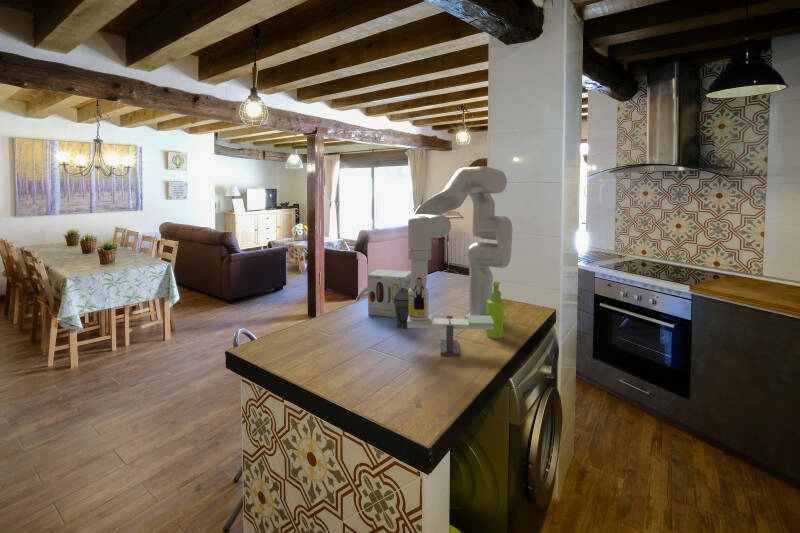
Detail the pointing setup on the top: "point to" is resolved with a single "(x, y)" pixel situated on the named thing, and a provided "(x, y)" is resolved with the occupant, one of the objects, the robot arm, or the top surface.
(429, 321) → the beam
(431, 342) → the top surface
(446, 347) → the pivot stand
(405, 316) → the beverage cup
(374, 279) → the supplement box
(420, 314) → the supplement bottle
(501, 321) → the soap dispenser
